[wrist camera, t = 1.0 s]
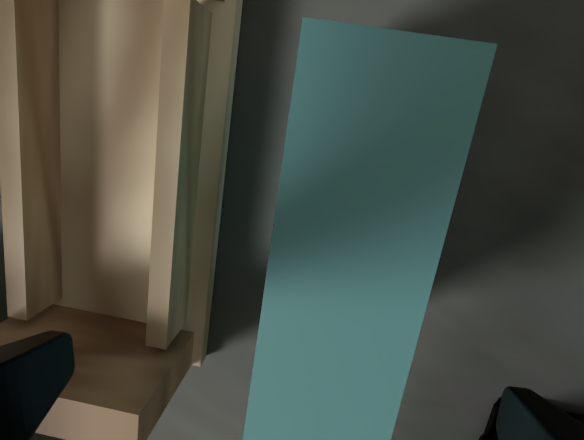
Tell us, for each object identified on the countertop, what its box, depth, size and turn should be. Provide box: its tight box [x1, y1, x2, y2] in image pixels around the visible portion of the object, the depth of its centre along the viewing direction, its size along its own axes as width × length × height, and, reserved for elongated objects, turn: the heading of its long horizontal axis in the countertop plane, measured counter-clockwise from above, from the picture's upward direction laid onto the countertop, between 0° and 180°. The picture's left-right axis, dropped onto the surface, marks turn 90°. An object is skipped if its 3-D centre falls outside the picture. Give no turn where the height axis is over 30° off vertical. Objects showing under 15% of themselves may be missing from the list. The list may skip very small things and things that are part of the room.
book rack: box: [0, 0, 243, 440], centre depth 17 cm, size 10×20×7 cm, turn 172°
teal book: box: [243, 17, 498, 440], centre depth 15 cm, size 4×12×10 cm, turn 172°
